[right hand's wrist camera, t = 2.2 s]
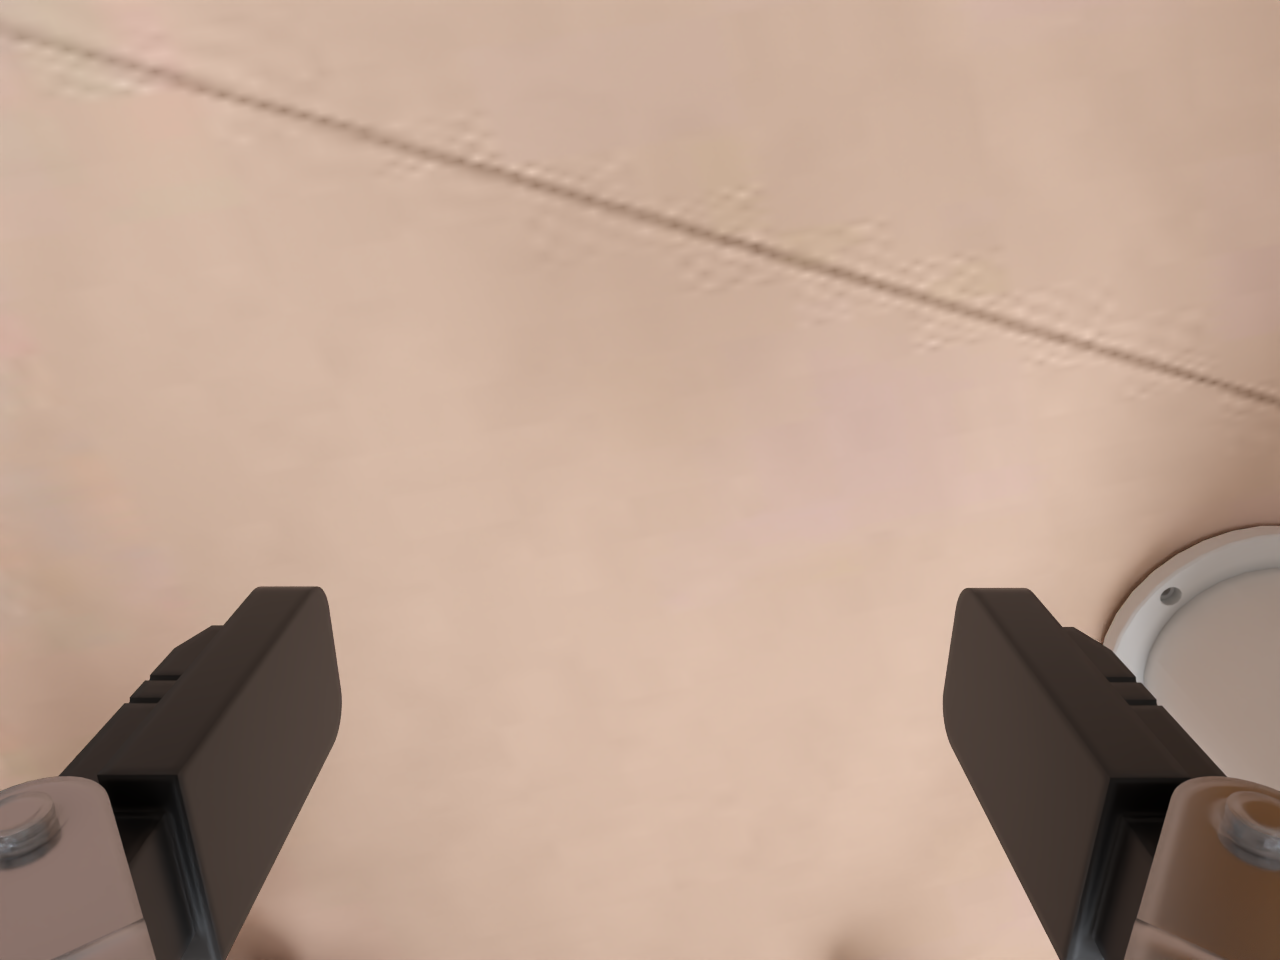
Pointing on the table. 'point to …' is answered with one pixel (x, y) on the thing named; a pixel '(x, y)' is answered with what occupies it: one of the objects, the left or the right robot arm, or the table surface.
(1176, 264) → the table surface
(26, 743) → the table surface
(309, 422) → the table surface
